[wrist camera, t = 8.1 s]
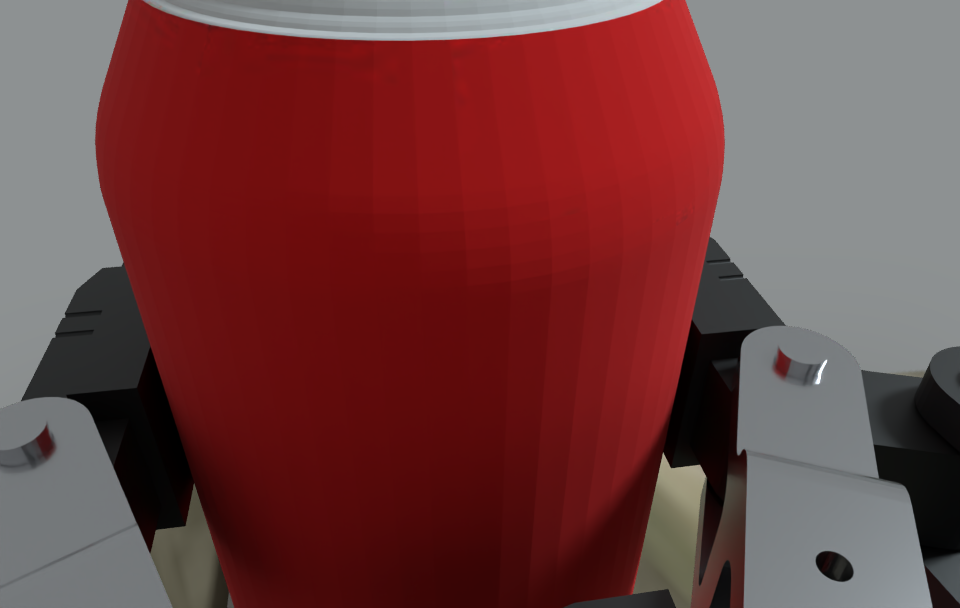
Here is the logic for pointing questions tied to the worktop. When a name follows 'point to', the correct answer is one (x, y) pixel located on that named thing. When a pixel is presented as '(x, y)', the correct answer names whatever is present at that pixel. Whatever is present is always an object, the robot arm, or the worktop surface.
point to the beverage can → (416, 282)
